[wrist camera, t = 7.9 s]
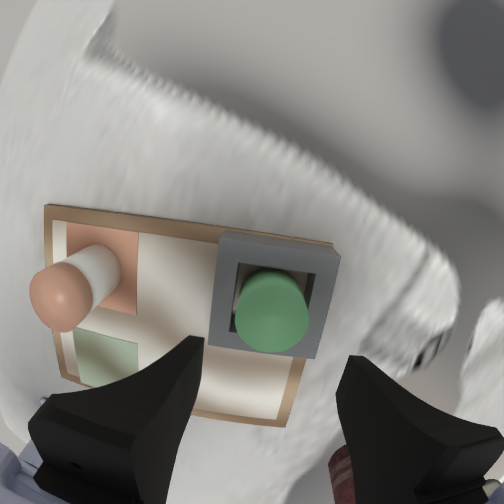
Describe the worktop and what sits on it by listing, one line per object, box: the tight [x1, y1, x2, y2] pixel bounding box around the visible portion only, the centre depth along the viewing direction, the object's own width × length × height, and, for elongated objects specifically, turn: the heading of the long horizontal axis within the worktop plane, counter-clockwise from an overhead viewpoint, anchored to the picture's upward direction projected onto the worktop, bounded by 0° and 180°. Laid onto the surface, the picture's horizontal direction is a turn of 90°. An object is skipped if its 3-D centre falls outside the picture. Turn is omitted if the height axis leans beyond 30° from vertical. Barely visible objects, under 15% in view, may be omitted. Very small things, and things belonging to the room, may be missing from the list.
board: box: [44, 204, 334, 427], centre depth 21 cm, size 16×21×1 cm
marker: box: [30, 244, 121, 333], centre depth 17 cm, size 4×4×6 cm
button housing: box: [207, 230, 341, 359], centre depth 19 cm, size 7×7×2 cm
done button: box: [235, 269, 309, 353], centre depth 17 cm, size 4×4×3 cm
